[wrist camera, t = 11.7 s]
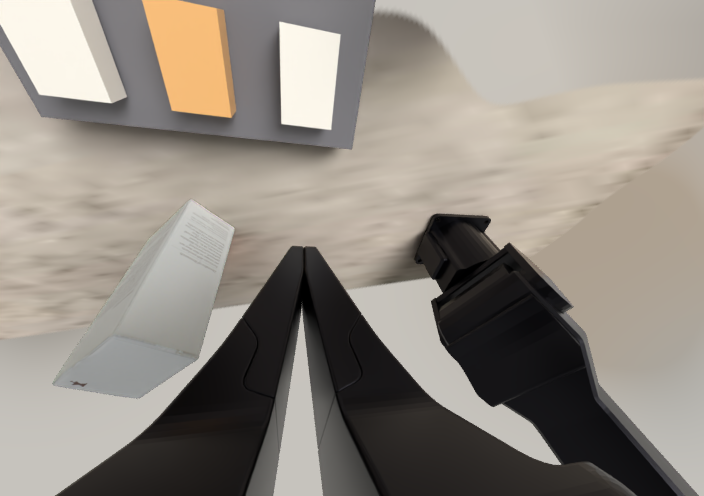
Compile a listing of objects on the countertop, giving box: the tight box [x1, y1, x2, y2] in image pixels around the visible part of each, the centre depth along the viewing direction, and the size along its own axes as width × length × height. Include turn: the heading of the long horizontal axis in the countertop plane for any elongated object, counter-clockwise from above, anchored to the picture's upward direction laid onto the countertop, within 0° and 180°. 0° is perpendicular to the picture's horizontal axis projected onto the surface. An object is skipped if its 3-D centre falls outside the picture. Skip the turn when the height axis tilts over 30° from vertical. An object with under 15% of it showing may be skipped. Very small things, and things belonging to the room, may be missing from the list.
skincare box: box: [53, 199, 235, 398], centre depth 17 cm, size 6×4×12 cm
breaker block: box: [0, 0, 375, 149], centre depth 13 cm, size 16×7×3 cm, turn 81°
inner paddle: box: [279, 22, 341, 130], centre depth 13 cm, size 3×4×1 cm, turn 171°
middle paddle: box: [142, 0, 236, 118], centre depth 11 cm, size 3×4×1 cm, turn 171°
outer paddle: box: [0, 0, 127, 103], centre depth 10 cm, size 3×4×1 cm, turn 171°
